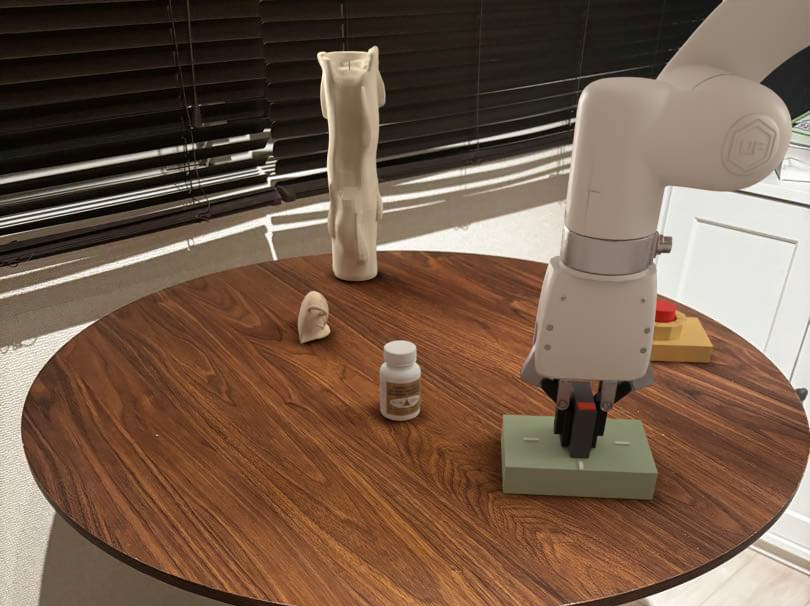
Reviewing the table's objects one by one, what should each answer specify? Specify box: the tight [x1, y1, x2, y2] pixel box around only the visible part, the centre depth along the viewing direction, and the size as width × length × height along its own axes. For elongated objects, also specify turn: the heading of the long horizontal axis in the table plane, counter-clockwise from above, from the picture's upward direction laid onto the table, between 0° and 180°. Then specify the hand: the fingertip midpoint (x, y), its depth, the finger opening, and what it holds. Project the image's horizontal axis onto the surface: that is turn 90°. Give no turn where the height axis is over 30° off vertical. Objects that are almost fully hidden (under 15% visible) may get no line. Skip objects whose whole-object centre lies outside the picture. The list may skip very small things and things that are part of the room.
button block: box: [650, 309, 714, 364], centre depth 102 cm, size 12×9×4 cm
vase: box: [316, 45, 386, 282], centre depth 114 cm, size 9×8×30 cm
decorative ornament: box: [297, 290, 331, 344], centre depth 104 cm, size 4×8×5 cm, turn 7°
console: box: [500, 414, 659, 501], centre depth 80 cm, size 14×10×3 cm
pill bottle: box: [379, 340, 422, 422], centre depth 87 cm, size 4×4×8 cm
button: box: [655, 299, 678, 323], centre depth 101 cm, size 4×4×2 cm
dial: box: [568, 380, 597, 458], centre depth 77 cm, size 6×2×5 cm, turn 176°
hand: (576, 439), depth 79 cm, fingers closed, pressing on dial
